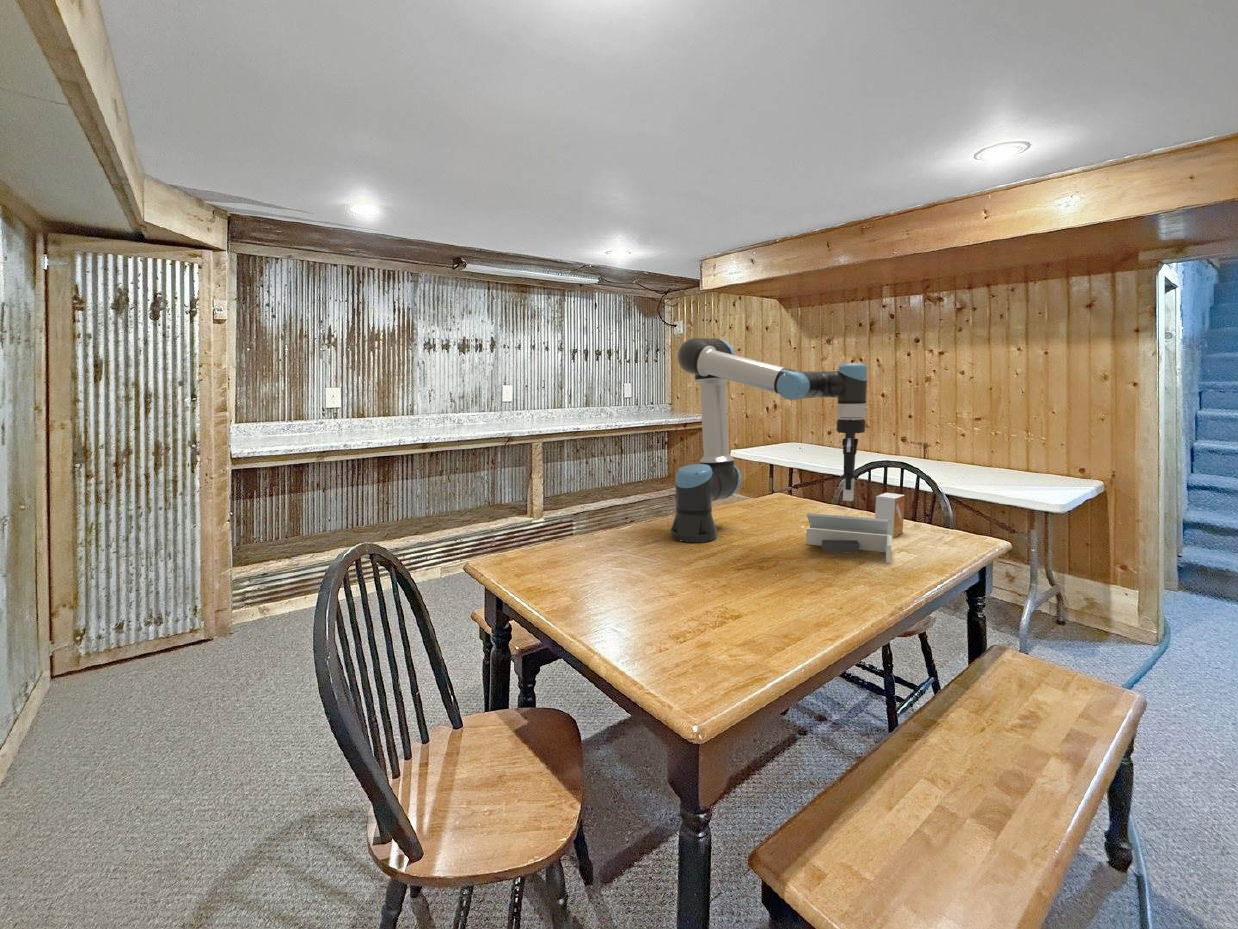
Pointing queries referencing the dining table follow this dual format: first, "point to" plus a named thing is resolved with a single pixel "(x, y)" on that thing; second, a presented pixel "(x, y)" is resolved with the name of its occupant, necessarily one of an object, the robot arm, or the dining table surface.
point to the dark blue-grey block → (840, 546)
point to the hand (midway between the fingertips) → (848, 500)
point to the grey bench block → (852, 539)
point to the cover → (848, 523)
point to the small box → (891, 511)
